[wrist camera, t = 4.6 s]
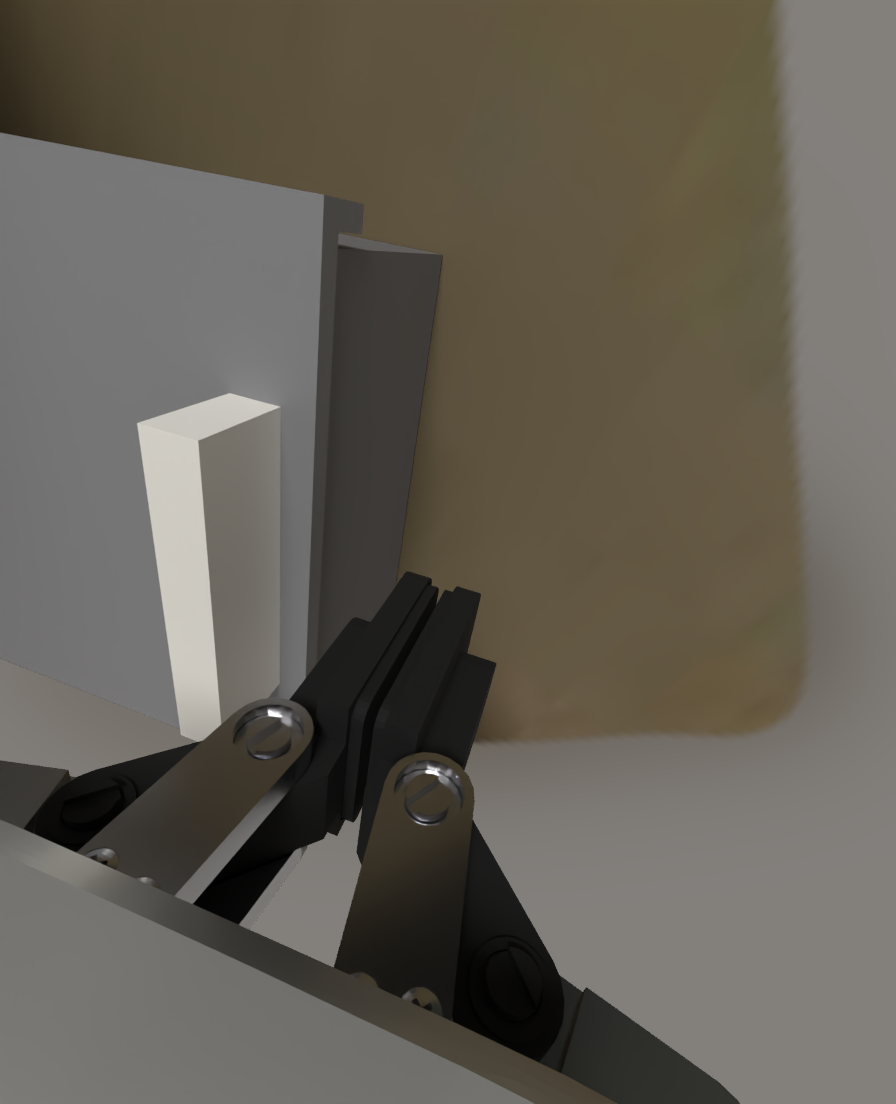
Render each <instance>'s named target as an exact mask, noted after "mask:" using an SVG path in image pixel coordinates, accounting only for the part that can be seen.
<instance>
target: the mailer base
mask: <svg viewBox="0 0 896 1104" xmlns="http://www.w3.org/2000/svg"><path fill="white" fill-rule="evenodd" d="M442 256H443V255H442V254H437V253H432V252H427V251H422V250H417V249H412V248H407V247H403V246H398V245H393V244H388V243H383V242H378V241H373V240H368V239H363V238H359V237H354V236H349V235H344V234H338V254H337V273H336V292H335V312H334V331H333V350H332V370H331V389H330V409H329V428H328V447H327V467H326V486H325V505H324V525H323V544H322V564H321V583H320V602H319V622H318V641H317V661H316V664H317V663H318V662H319V660H320V659H321V658H322V656H323V655H324V654H325V652H326V651H327V650H328V649H329V647H330V646H331V645H332V643H333V642H334V641H335V639H336V638H337V637H338V636H339V634H340V633H341V632H342V630H343V629H344V628H345V626H346V625H347V624H348V623H349V622H350V620H351V619H352V618H355V617H357V618H360V619H363V620H366V621H369V622H371V621H372V619H373V618H374V616H375V615H376V614H377V612H378V611H379V609H380V608H381V606H382V605H383V604H384V602H385V601H386V599H387V598H388V597H389V595H390V594H391V592H392V591H393V590H394V588H395V587H396V580H397V573H398V566H399V559H400V552H401V545H402V538H403V531H404V524H405V517H406V510H407V502H408V495H409V488H410V481H411V474H412V467H413V460H414V453H415V446H416V439H417V432H418V425H419V418H420V411H421V404H422V397H423V390H424V383H425V376H426V369H427V361H428V354H429V347H430V340H431V333H432V326H433V319H434V312H435V305H436V298H437V291H438V284H439V277H440V270H441V263H442Z"/></svg>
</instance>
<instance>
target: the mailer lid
mask: <svg viewBox="0 0 896 1104" xmlns="http://www.w3.org/2000/svg"><path fill="white" fill-rule="evenodd" d="M363 210H364V204H360V203H356V202H352V201H348V200H343V199H339V198H335V197H330V196H326V195H321V194H316V193H311V192H306V191H301V190H295V189H290V188H285V187H280V186H275V185H270V184H264V183H259V182H254V181H249V180H244V179H238V178H233V177H228V176H223V175H218V174H212V173H207V172H202V171H197V170H192V169H187V168H181V167H176V166H171V165H166V164H161V163H155V162H150V161H145V160H140V159H135V158H130V157H124V156H119V155H114V154H109V153H104V152H98V151H93V150H88V149H83V148H78V147H72V146H67V145H62V144H57V143H52V142H47V141H41V140H36V139H31V138H26V137H21V136H15V135H10V134H5V133H0V658H1V659H3V660H6V661H8V662H11V663H13V664H16V665H18V666H21V667H23V668H26V669H29V670H31V671H34V672H36V673H39V674H41V675H44V676H46V677H49V678H51V679H54V680H56V681H59V682H62V683H64V684H67V685H70V686H72V687H74V688H77V689H80V690H82V691H84V692H87V693H90V694H92V695H95V696H97V697H100V698H102V699H105V700H108V701H110V702H112V703H115V704H118V705H120V706H123V707H125V708H128V709H130V710H133V711H135V712H138V713H141V714H143V715H146V716H148V717H151V718H153V719H156V720H158V721H161V722H163V723H166V724H169V725H171V726H173V727H176V728H179V729H180V731H181V735H182V736H184V737H187V738H190V739H192V740H195V741H197V742H200V741H203V740H204V739H205V738H206V737H208V736H209V735H210V734H211V733H212V732H213V731H214V730H215V729H217V728H218V727H219V726H220V725H221V724H222V723H223V722H225V721H226V720H227V719H228V718H229V717H230V716H231V715H232V714H234V713H235V712H236V711H238V710H239V709H240V708H242V707H243V706H245V705H246V704H249V703H252V702H254V701H257V700H260V699H267V698H283V699H288V700H289V699H290V698H291V697H292V695H293V694H294V693H295V691H296V690H297V689H298V688H299V686H300V685H301V684H302V682H303V681H304V680H305V678H306V677H307V676H308V675H309V673H310V672H311V671H312V669H313V668H314V667H315V665H316V661H317V641H318V622H319V602H320V583H321V564H322V544H323V525H324V505H325V486H326V467H327V447H328V428H329V409H330V389H331V370H332V350H333V331H334V312H335V292H336V273H337V254H338V234H339V232H348V233H356V234H362V224H363Z"/></svg>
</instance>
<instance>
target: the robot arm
mask: <svg viewBox="0 0 896 1104" xmlns="http://www.w3.org/2000/svg"><path fill="white" fill-rule="evenodd" d="M431 584H432V580H431V578H428V577H425V576H421V575H418V574H415V573H412V572H406V573H405V574H404V575H403V577H402V578H401V580H400V581H399V582H398V584H397V585H396V587H395V588H394V590H393V591H392V592H391V594H390V595H389V597H388V598H387V599H386V601H385V602H384V604H383V605H382V606H381V608H380V609H379V611H378V612H377V614H376V615H375V616H374V618H373V619H372V621H371V622H369V621H366V620H363V619H360V618H357V617H355V618H352V619H351V620H350V622H349V623H348V624H347V625H346V626H345V628H344V629H343V630H342V632H341V633H340V634H339V636H338V637H337V638H336V639H335V641H334V642H333V643H332V645H331V646H330V647H329V649H328V650H327V651H326V652H325V654H324V655H323V656H322V658H321V659H320V660H319V662H318V663H317V664H316V665H315V667H314V668H313V669H312V671H311V672H310V673H309V675H308V676H307V677H306V678H305V680H304V681H303V682H302V684H301V685H300V686H299V688H298V689H297V690H296V691H295V693H294V694H293V695H292V697H291V698H290V699H289V700H288V699H283V698H267V699H260V700H257V701H254V702H252V703H249V704H246V705H245V706H243V707H242V708H240V709H239V710H238V711H236V712H235V713H234V714H232V715H231V716H230V717H229V718H228V719H227V720H226V721H225V722H223V723H222V724H221V725H220V726H219V727H218V728H217V729H215V730H214V731H213V732H212V733H211V734H210V735H209V736H208V737H206V738H205V739H204V740H203V741H200V742H196V743H192V744H189V745H185V746H181V747H178V748H174V749H171V750H167V751H163V752H160V753H156V754H152V755H148V756H145V757H141V758H138V759H134V760H131V761H127V762H123V763H119V764H116V765H112V766H108V767H105V768H101V769H97V770H94V771H91V772H89V773H86V774H83V775H81V776H78V777H71V776H70V774H69V771H68V770H65V769H57V768H50V767H43V766H36V765H28V764H22V763H15V762H7V761H0V1104H740V1103H739V1101H738V1100H737V1099H736V1098H735V1097H734V1096H733V1095H732V1094H731V1093H730V1092H729V1091H727V1089H726V1088H725V1087H723V1086H722V1085H721V1084H720V1083H719V1082H718V1081H717V1080H715V1079H714V1078H712V1077H711V1076H710V1075H708V1074H707V1073H706V1072H704V1071H703V1070H701V1069H700V1068H698V1067H697V1066H696V1065H694V1064H693V1063H692V1062H690V1061H689V1060H687V1059H686V1058H685V1057H683V1056H682V1055H680V1054H679V1053H678V1052H676V1051H675V1050H673V1049H672V1048H671V1047H669V1046H668V1045H667V1044H665V1043H664V1042H662V1041H661V1040H660V1039H658V1038H657V1037H655V1036H654V1035H653V1034H651V1033H650V1032H649V1031H647V1030H646V1029H644V1028H643V1027H642V1026H640V1025H639V1024H637V1023H636V1022H635V1021H633V1020H632V1019H630V1018H629V1017H628V1016H626V1015H625V1014H623V1013H622V1012H621V1011H619V1010H618V1009H617V1008H615V1007H614V1006H612V1005H611V1004H609V1003H608V1002H607V1001H605V1000H604V999H603V998H601V997H600V996H598V995H597V994H595V993H594V992H593V991H591V990H590V989H588V988H587V987H586V988H585V990H584V991H583V992H582V991H581V990H579V989H578V988H576V987H575V986H574V985H573V984H571V983H570V982H568V981H567V980H566V979H564V978H563V977H561V976H560V975H559V974H558V972H557V969H556V967H555V964H554V962H553V960H552V958H551V956H550V955H549V953H548V951H547V949H546V947H545V946H544V944H543V942H542V940H541V939H540V937H539V935H538V933H537V932H536V930H535V928H534V927H533V925H532V923H531V921H530V919H529V918H528V916H527V914H526V912H525V911H524V909H523V907H522V905H521V904H520V902H519V900H518V898H517V897H516V895H515V893H514V891H513V890H512V888H511V886H510V884H509V883H508V881H507V879H506V877H505V876H504V874H503V873H502V870H501V869H500V867H499V865H498V863H497V862H496V860H495V858H494V856H493V855H492V853H491V851H490V849H489V847H488V846H487V844H486V842H485V840H484V839H483V837H482V835H481V834H480V832H479V830H478V828H477V827H476V825H475V823H474V821H473V810H474V788H473V786H472V783H471V781H470V779H469V776H468V775H467V774H466V773H465V771H464V770H465V767H466V763H467V760H468V757H469V754H470V751H471V748H472V744H473V741H474V738H475V735H476V732H477V729H478V725H479V722H480V719H481V716H482V712H483V709H484V706H485V702H486V699H487V696H488V692H489V689H490V685H491V682H492V678H493V674H494V671H495V667H496V663H495V662H492V661H489V660H486V659H483V658H480V657H477V656H473V655H470V654H467V652H468V647H469V643H470V639H471V635H472V631H473V627H474V622H475V618H476V614H477V610H478V606H479V602H480V596H481V594H480V593H477V592H474V591H470V590H467V589H464V588H461V587H456V588H455V589H454V591H453V592H451V591H448V590H445V591H444V592H443V594H442V596H441V598H440V600H439V601H438V603H437V605H436V602H437V597H438V591H439V588H438V587H435V586H431ZM362 806H363V807H362ZM361 808H362V814H361V823H360V830H359V838H358V845H357V854H358V857H359V860H360V862H361V865H362V866H361V870H360V873H359V877H358V881H357V884H356V888H355V892H354V895H353V899H352V902H351V906H350V910H349V913H348V917H347V920H346V924H345V928H344V931H343V935H342V939H341V942H340V946H339V949H338V953H337V957H336V960H335V964H334V967H331V966H329V965H326V964H324V963H322V962H320V961H318V960H315V959H313V958H311V957H309V956H307V955H304V954H302V953H300V952H298V951H296V950H293V949H291V948H289V947H287V946H284V945H282V944H280V943H278V942H276V941H273V940H271V939H269V938H267V937H264V936H262V935H260V934H258V933H255V932H253V931H251V930H250V928H251V927H252V925H253V924H254V923H255V921H256V920H257V919H258V917H259V916H260V915H261V913H262V912H263V910H264V909H265V908H266V906H267V905H268V904H269V902H270V901H271V899H272V898H273V897H274V895H275V894H276V892H277V891H278V890H279V888H280V887H281V886H282V884H283V883H284V882H285V880H286V879H287V877H288V876H289V875H290V873H291V872H292V871H293V869H294V868H295V866H296V865H297V864H298V862H299V861H300V860H301V858H302V856H303V854H304V852H305V851H306V849H307V845H309V844H312V843H314V842H317V841H320V840H322V839H324V837H325V835H326V834H327V832H329V833H331V834H334V835H336V836H337V835H338V833H339V831H340V829H341V827H342V825H343V823H344V821H345V819H346V820H349V821H351V822H354V821H355V820H356V818H357V816H358V814H359V812H360V810H361Z"/></svg>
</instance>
